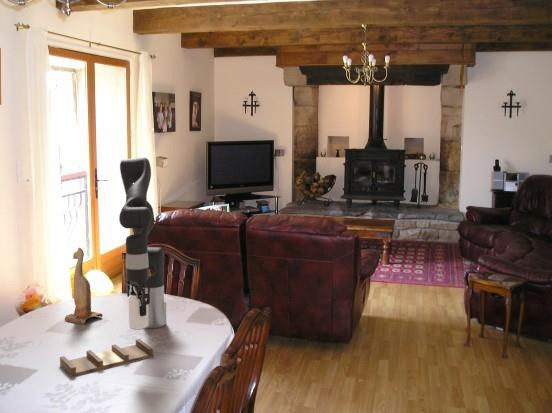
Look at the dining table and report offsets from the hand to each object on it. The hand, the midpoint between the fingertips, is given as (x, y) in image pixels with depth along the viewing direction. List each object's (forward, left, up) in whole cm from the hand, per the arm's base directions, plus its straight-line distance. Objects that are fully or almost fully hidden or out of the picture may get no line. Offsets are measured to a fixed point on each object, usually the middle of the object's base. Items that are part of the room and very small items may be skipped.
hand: (138, 312), depth 210 cm
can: (0, 0, -5) cm, 5 cm away
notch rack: (+6, -14, -20) cm, 25 cm away
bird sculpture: (-3, -63, -21) cm, 66 cm away
